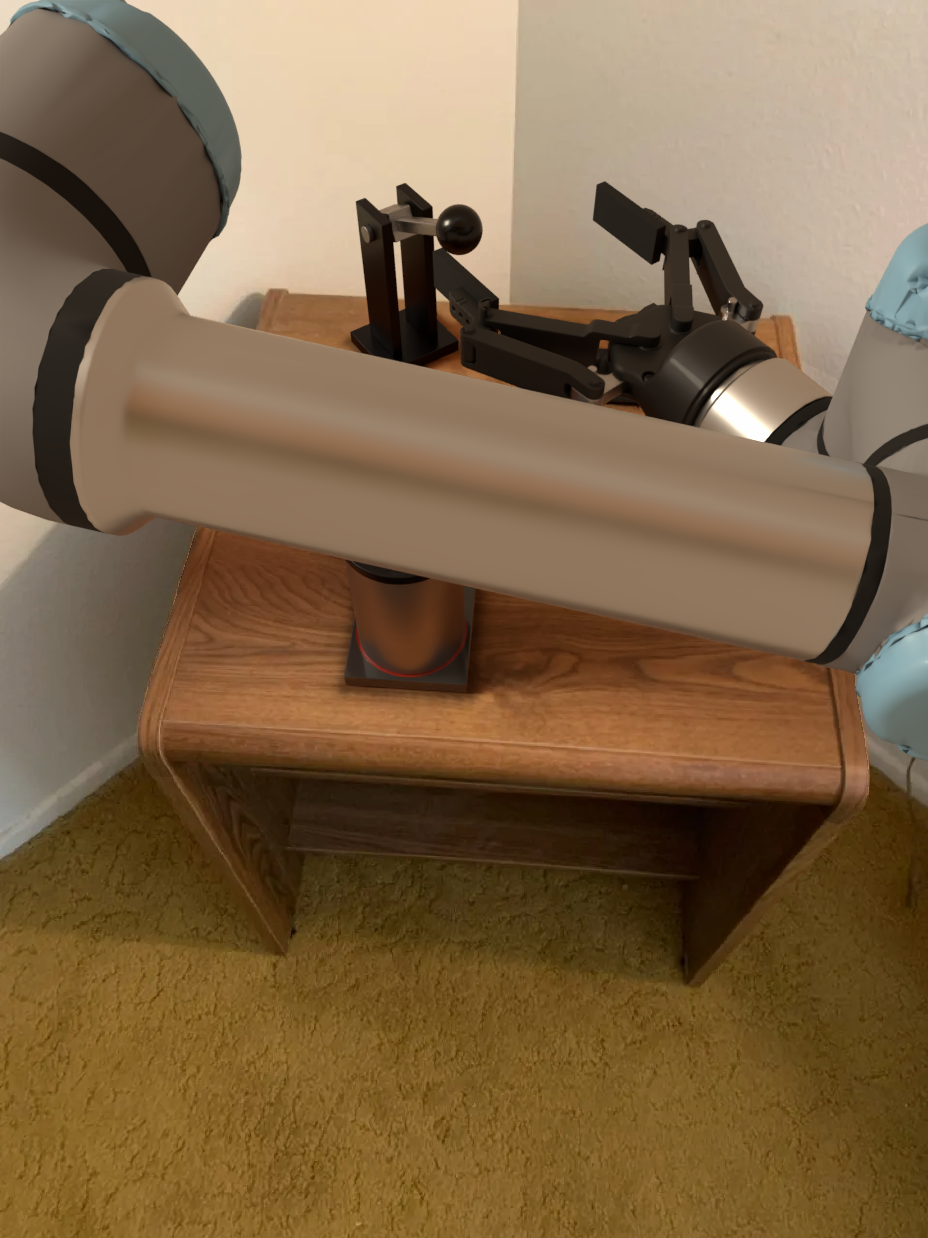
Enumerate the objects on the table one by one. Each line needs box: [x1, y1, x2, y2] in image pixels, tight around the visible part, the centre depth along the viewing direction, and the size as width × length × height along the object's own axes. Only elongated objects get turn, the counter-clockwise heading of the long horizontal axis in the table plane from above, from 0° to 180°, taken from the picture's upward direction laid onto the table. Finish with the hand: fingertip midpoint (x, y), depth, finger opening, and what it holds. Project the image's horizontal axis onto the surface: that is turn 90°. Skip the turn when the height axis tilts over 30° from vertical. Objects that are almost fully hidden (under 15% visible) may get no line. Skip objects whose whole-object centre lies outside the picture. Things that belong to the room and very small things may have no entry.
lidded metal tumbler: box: [343, 559, 465, 675], centre depth 65 cm, size 8×8×12 cm
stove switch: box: [349, 182, 460, 367], centre depth 84 cm, size 7×8×15 cm
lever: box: [378, 203, 484, 256], centre depth 75 cm, size 14×4×4 cm, turn 34°
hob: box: [343, 586, 477, 693], centre depth 70 cm, size 9×9×1 cm
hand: (520, 232), depth 64 cm, fingers open, 13 cm apart
